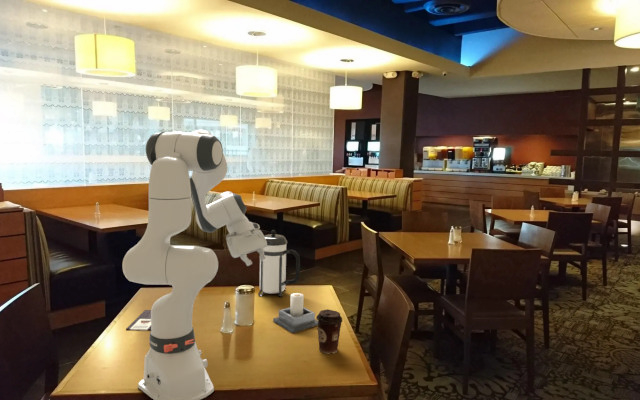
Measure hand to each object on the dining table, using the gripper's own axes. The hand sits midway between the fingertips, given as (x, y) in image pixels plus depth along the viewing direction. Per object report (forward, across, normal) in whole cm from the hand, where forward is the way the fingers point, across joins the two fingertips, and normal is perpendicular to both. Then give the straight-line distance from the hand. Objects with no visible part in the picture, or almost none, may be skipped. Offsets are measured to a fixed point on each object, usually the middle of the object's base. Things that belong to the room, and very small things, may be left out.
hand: (257, 262), depth 162 cm
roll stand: (+28, +5, 0) cm, 28 cm away
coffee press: (+14, +31, +21) cm, 40 cm away
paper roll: (+27, +5, -1) cm, 27 cm away
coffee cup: (+39, -9, -16) cm, 43 cm away
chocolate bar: (0, -20, +43) cm, 48 cm away
